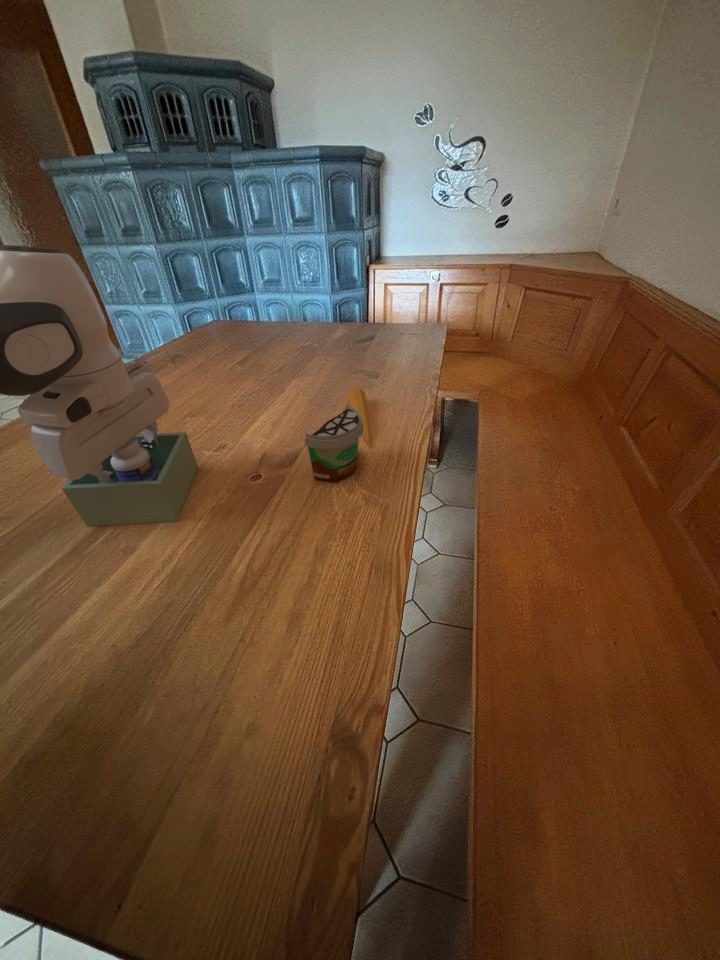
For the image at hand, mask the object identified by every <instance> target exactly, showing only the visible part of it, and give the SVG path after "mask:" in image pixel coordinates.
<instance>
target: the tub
mask: <svg viewBox="0 0 720 960" xmlns="http://www.w3.org/2000/svg"><path fill="white" fill-rule="evenodd" d="M135 438H136V439H137V441H138V443H139V444H140V447H141V448H144V444H142V441H141V440H143V439H144V433H139V434H138V435H137V436H135ZM156 438H157V441H158V443H159V446H158V447H157V448H155V449H154V450H153V451H151V450H147V449H145V448H144V449H145V450H147V452H148V453H149V455H150V458H151V460H152V462H153V464H154V467H155V469H156V471H157V473H158V476H159V477H158V478H157V480H156V481H136V482H120V481H119V479H118V477H117V475H116V473H115V471H114V469H113V467H112V465H111V459H112V457H113V456H112V455H110V456H109V457H108V458H106V459H105V460H104V461H102V462H101V464H102V466H103V468H102V469H100V470H101V471H103V470H106V471H111V472H114V474H115V477H116V478H117V481H116V482H115V483H100V482H99V480H98V478H97V477H96V476H94V475H91V474H89V473H87V474H85V475H84V476H83V477H81V478H80V479H68V480H67V481H66V482H65V484H64V485H63V486H62V487H61V490H62V492H63V493H64V494H65V496H66V498H67V499H68V500H69V502H70V504H71V505H72V506H73V508H74V510H75V511H76V512H77V514H78V516H79V517H80V519H81V520H82V522H83V523H84V524H85V526H86V527H100V526H101V527H103V526H119V525H120V526H121V525H136V524H139V525H140V524H155V523H156V524H157V523H172V522H173V523H175V522H178V521H179V518H180V515H181V512H182V511H183V508H184V505H185V503H186V500H187V497H188V495H189V492H190V490H191V487H192V485H193V482H194V479H195V477H196V475H197V473H198V470H199V465H198V463H197V460H196V456H195V454H194V451H193V449H192V448H193V447H192V445H191V443H190V439H189V437H188V434H187V431H180V432H179V431H178V432H177V431H175V432H157V437H156Z"/></svg>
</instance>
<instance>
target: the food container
mask: <svg viewBox="0 0 720 960" xmlns="http://www.w3.org/2000/svg"><path fill="white" fill-rule="evenodd" d="M362 433H363V424H362V419H361V417H360V415H359V413H358V411H357V410H356V409H354V408H353V407H351V406H349V405H348V403H346V404H345V409H344V410H342V412H340V413H339V414H338V415H336V416H334V417H332V418H330V419H328V420H327V421H326V422H325V423H324V424H322V426H320V427H319V429H318V430H316V431H315V432H313V433H312V434H310V433H305V437H304V446H305V447H307V449H308V454H309V459H310V463H311V469H312V473H313V479H315V480H317V481H321V482H326V483H327V482H328V483H333V482H339V481H342V480H346V479H347V478H349V477H351V476H353V474H354V473H355V472H356V470H357V466H358V465H357V464H358V453H359V441H360V437H361V436H363V435H362Z"/></svg>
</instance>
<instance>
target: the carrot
mask: <svg viewBox="0 0 720 960" xmlns="http://www.w3.org/2000/svg"><path fill="white" fill-rule="evenodd" d="M366 396H367V395H366V393H365V392H364V390H363V389H361V388H360V387H359V386H356V387H355V386H354V387H353V386H352V387H351V388H349V390H347V393H346V402H347V405H349V406H351V407H353V408H354V409H356V410H357V411H358V413H359V415H360V417H361V419H362V424H363V433H362V435H361V436H363V438H364V440H365V442H366V443H367V445H368V447H369V448H370V450H371V449H372V448H371V447H372V444H371V443H372V442H371V428H370V419H369V413H368V412H369V411H368V403H367V397H366Z"/></svg>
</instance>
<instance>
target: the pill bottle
mask: <svg viewBox="0 0 720 960" xmlns="http://www.w3.org/2000/svg"><path fill="white" fill-rule="evenodd" d="M112 456H113V457H112V459H111V465H112V467H113V469H114V471H115V473H116V475H117V477H118V479H119V481H120V482H136V481H156V480H157V478H158V477H159V476H158V473H157V471H156V469H155V467H154V464H153V462H152V460H151V458H150V455H149V453H148V452H147V450H145V449H144V448H141V447H140V444H139V443H138V441H137V439H136V438H135V437H134V438H133V439H131V440H130V441H129V442H127V443H126V444H125V445H123V446H122V447H121V448H119V449H118V450H117V451H116V452H114V453H113V454H112Z"/></svg>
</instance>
